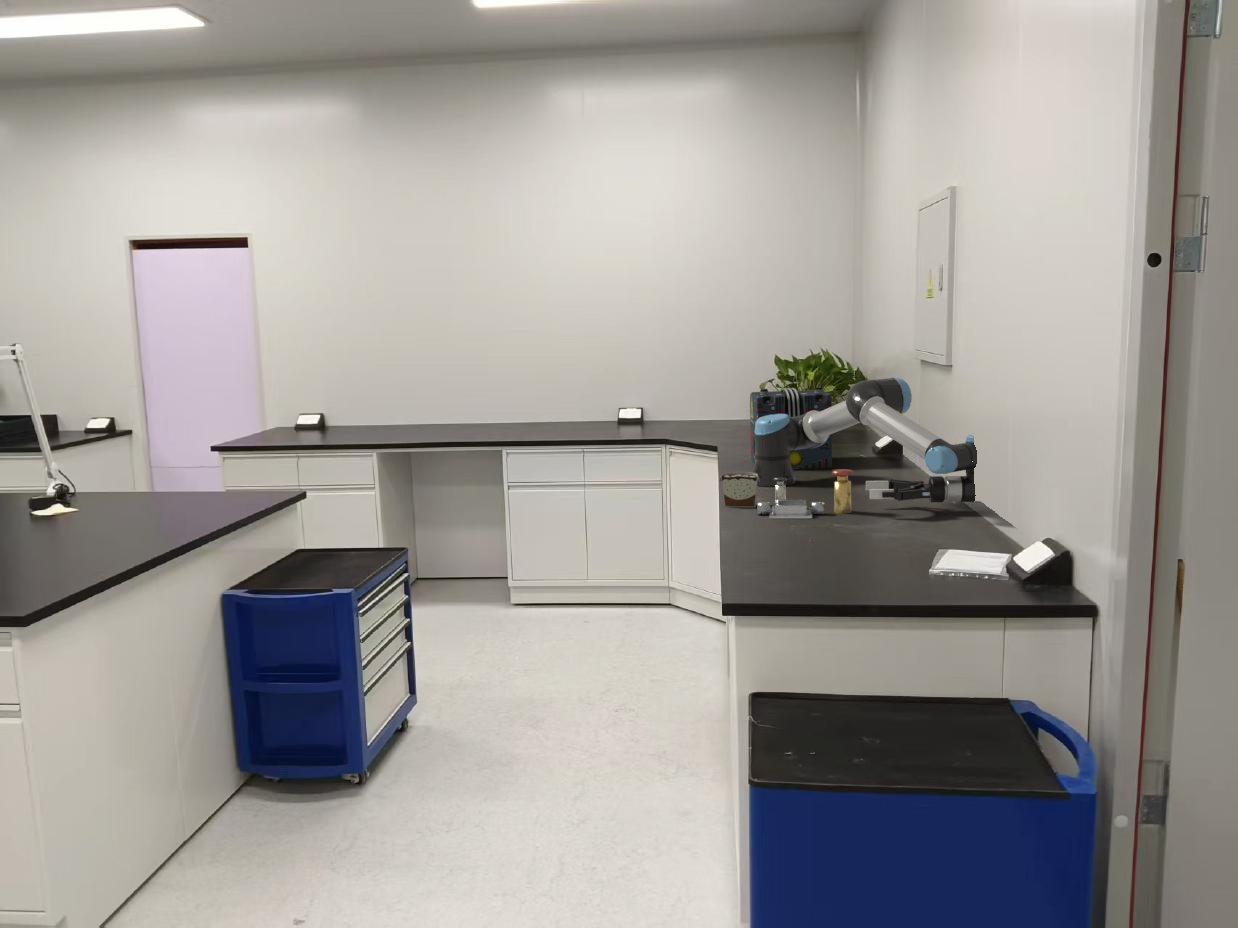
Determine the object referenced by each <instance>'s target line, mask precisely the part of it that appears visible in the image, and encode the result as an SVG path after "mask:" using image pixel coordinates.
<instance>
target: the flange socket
mask: <svg viewBox="0 0 1238 928" xmlns="http://www.w3.org/2000/svg"><path fill="white" fill-rule="evenodd" d="M756 505H757V506H756V508H757V509H756V513H757V515H769V516H768V517H769V519H774V520H775V519H813V515H825V501H811V506H810V505H807V500H806V499H786V500H774V505H772V506H771V502H770V501H758V502H756Z"/></svg>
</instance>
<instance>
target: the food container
mask: <svg viewBox="0 0 1238 928" xmlns="http://www.w3.org/2000/svg"><path fill="white" fill-rule="evenodd" d="M758 481H759V482H760V480H759V476H758V474H756V473H752V472H751V471H750V472H749V471H748V472H747V471H734V472H733V471H732V472H724V473H722V474H720V476H719V482H720V483H721V487H722V489H721V490H722V495H723V496H722V497H723V504H724V505H723V506H724V507H725V508H756V505H757V502H756V501H757V490H758V485H757V482H758Z"/></svg>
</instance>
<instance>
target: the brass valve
mask: <svg viewBox="0 0 1238 928" xmlns="http://www.w3.org/2000/svg"><path fill="white" fill-rule="evenodd" d="M831 475H834V476H836V477H837V478H836V479H837V480H835V481H834V482H833V486H834V487H833V492H834V493H833V495H834V496H833V500H834V501H833V503H834V505H833V510H834V511H833V512H834V513H835V514H839V515H841V514H842V515H844V514H851V513H852V480H849V475H850V476H851V475H854V470H852V469H844V468H841V469H839V468H837V469H832V470H831Z"/></svg>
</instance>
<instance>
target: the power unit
mask: <svg viewBox="0 0 1238 928" xmlns="http://www.w3.org/2000/svg"><path fill="white" fill-rule="evenodd" d="M832 402H833V401H832V394H830V393H829V392H827V391H824V390H823V387H822V386H815V387H814V389H809V390H806V389H805V390H804V389H803V390H797V389H796V388H794V387H791V388H789V387H787V388H781V390H780V391H777V390H776V391H769V390H768V388H761V389H760V391H752V392H750V396H749V409H750V410H749V414H750V415H749V416H750V417H749V420H750V426H749V427H750V459H751V461H752V463H753V465H755V461H756V453H755V423H756V421H757V419H758V418H760V417H763V416H767V415H774V414H787V415H788V416H789V417H796V416H800V415H803V414H805V413H807V412H809V411H813V410H815V411H819V412H820V411H823V410H825V409H827V408H829V407H832V406H833V403H832ZM790 463H791V466H792V469H793V471H794V470H815V469H816V470H819V469H820V470H821V469H824V470H825V469H832V468H833V434H830V435H829V437H828V439H827V441H826V442H825V443H824V444H823V445H821V446H819V447H816V448H808V449H800V450H792V451H790Z"/></svg>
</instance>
